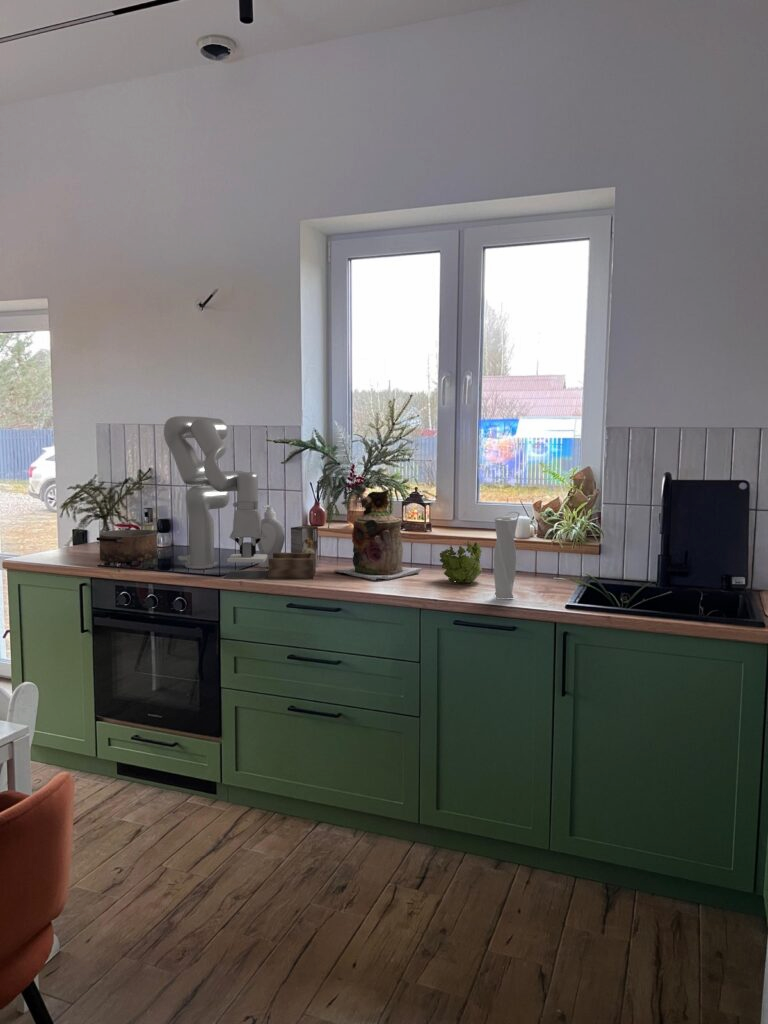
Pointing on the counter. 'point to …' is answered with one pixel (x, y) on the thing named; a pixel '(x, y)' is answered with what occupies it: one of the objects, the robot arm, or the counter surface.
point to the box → (292, 566)
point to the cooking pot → (128, 545)
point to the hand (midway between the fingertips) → (247, 555)
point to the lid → (247, 555)
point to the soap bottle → (271, 535)
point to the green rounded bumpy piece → (462, 563)
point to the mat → (247, 574)
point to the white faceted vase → (505, 556)
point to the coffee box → (305, 540)
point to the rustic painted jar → (377, 541)
